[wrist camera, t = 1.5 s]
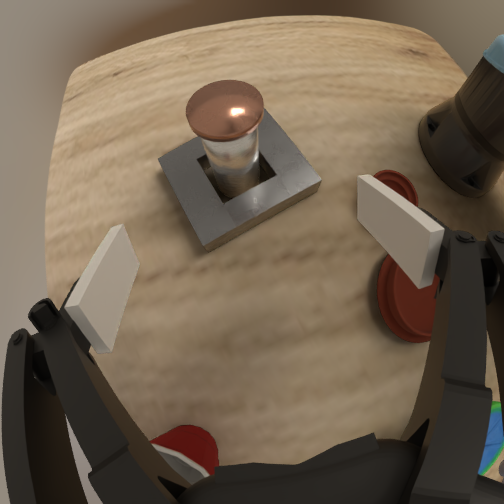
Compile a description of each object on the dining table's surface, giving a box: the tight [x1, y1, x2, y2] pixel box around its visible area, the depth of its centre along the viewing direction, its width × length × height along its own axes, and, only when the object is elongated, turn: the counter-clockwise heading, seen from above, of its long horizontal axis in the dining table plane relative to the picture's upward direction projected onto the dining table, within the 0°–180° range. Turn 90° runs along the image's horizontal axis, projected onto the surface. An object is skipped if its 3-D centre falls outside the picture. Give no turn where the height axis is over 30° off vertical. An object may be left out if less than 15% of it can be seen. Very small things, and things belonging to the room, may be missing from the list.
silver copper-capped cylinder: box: [186, 80, 264, 198], centre depth 26 cm, size 6×6×13 cm
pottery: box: [373, 170, 440, 343], centre depth 27 cm, size 12×20×4 cm, turn 15°
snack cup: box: [478, 401, 504, 476], centre depth 19 cm, size 16×11×10 cm
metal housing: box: [158, 108, 322, 252], centre depth 30 cm, size 14×12×3 cm
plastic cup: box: [149, 425, 219, 485], centre depth 20 cm, size 11×11×12 cm
